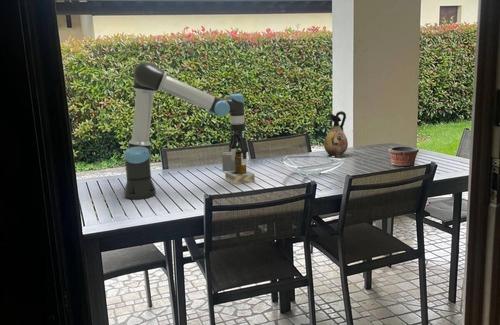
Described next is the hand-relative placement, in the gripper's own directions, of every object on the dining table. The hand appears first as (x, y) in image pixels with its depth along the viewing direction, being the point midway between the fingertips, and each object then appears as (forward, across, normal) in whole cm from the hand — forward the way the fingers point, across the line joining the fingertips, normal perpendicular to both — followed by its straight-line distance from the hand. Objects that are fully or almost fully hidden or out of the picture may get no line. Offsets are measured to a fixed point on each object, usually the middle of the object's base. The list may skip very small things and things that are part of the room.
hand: (239, 162), depth 244 cm
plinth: (+10, 0, 0) cm, 10 cm away
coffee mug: (+10, +29, -6) cm, 31 cm away
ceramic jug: (+10, +26, -82) cm, 87 cm away
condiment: (+6, 0, 0) cm, 6 cm away
